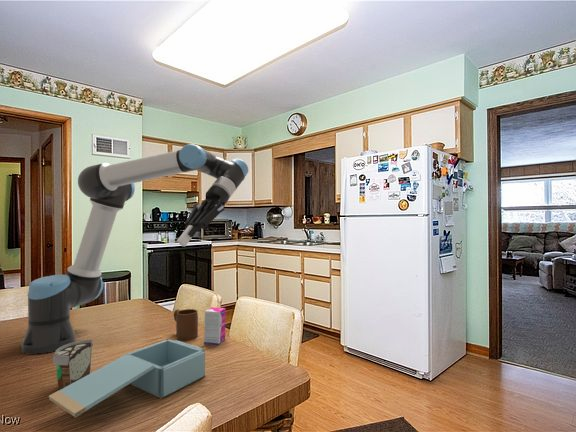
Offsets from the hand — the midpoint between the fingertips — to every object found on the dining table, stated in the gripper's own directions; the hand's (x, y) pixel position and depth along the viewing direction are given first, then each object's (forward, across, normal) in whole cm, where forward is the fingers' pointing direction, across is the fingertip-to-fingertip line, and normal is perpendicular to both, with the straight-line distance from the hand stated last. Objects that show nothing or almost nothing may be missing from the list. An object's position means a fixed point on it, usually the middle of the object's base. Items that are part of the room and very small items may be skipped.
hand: (181, 243), depth 102 cm
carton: (+32, -5, -19) cm, 38 cm away
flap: (+32, -5, -9) cm, 34 cm away
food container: (+44, +12, -7) cm, 46 cm away
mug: (+15, +18, -36) cm, 43 cm away
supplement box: (+13, +4, -38) cm, 40 cm away
